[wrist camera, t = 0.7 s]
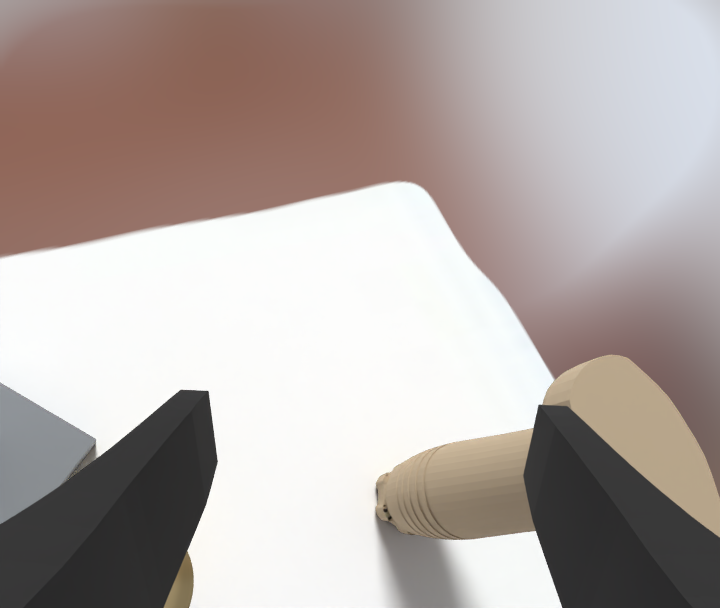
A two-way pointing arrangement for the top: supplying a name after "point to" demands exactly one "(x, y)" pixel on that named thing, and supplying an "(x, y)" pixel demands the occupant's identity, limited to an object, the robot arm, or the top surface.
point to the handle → (509, 454)
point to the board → (34, 452)
